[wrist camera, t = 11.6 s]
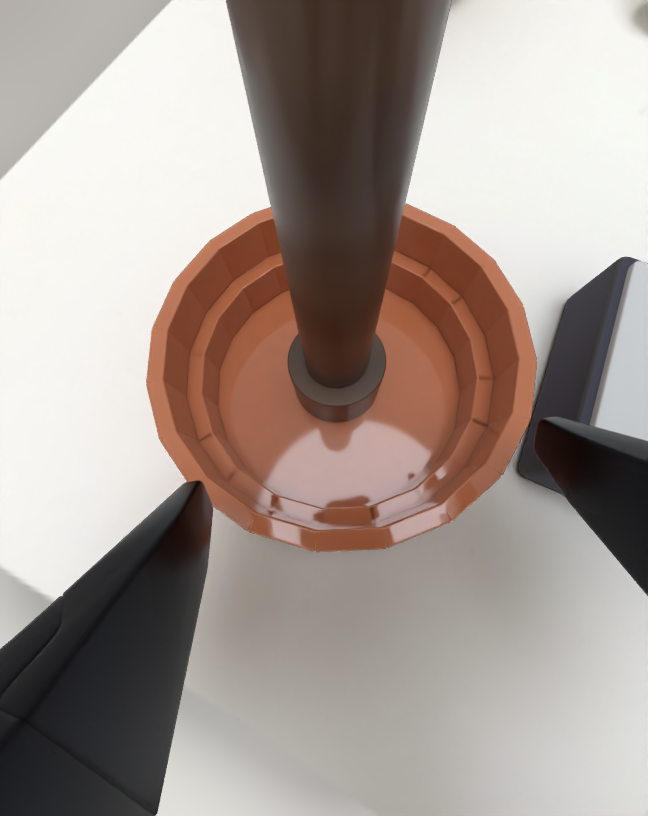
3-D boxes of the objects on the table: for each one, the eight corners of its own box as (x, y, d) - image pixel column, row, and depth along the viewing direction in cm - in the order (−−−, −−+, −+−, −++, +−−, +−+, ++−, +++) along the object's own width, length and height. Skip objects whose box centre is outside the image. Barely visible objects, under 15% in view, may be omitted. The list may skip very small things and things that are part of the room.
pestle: (367, 432, 17) (564, -7, 2) (284, 411, 17) (21, -66, 3) (386, 355, 18) (594, -261, 3) (308, 337, 18) (205, -273, 4)
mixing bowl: (456, 577, 15) (511, 611, 11) (153, 488, 17) (81, 482, 12) (498, 296, 19) (552, 228, 14) (249, 246, 21) (223, 169, 16)
